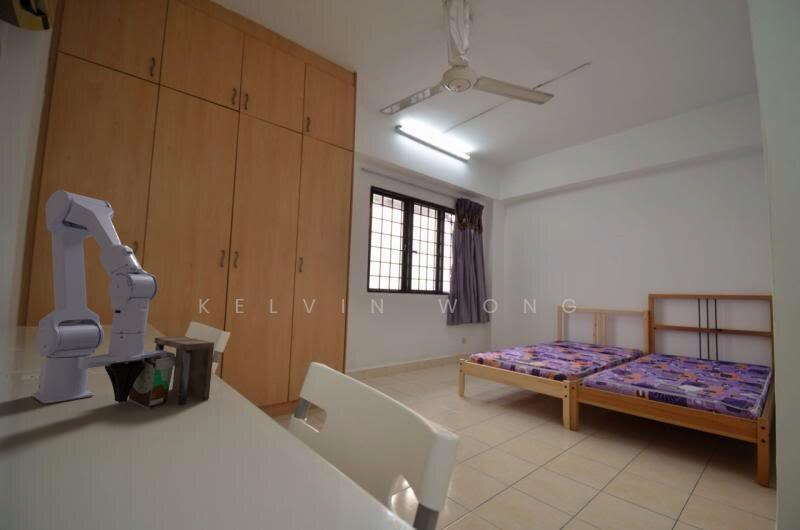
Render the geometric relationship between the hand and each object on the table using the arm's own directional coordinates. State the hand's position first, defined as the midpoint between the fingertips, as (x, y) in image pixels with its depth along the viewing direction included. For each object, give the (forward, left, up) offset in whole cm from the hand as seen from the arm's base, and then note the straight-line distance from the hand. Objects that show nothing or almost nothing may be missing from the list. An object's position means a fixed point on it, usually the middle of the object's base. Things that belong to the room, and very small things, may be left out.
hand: (120, 400), depth 72 cm
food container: (0, +6, -2) cm, 7 cm away
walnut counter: (0, +11, -1) cm, 11 cm away
